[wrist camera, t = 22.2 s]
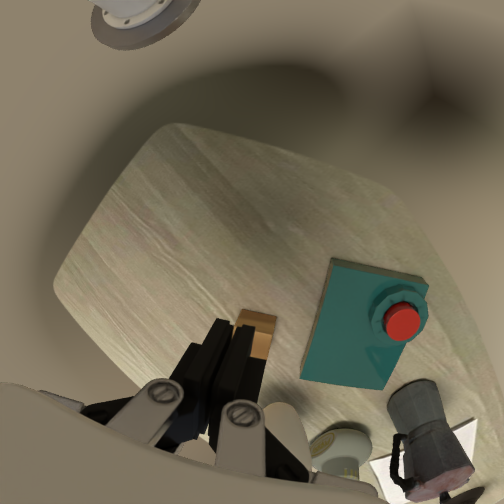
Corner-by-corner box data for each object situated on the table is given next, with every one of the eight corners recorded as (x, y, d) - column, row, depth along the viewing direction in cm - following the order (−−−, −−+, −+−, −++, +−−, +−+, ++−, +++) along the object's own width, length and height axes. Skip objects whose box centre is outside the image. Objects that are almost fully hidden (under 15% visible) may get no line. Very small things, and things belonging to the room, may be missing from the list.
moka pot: (426, 424, 38) (450, 514, 19) (355, 411, 39) (364, 521, 20) (459, 385, 35) (501, 477, 16) (388, 367, 36) (419, 485, 17)
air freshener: (335, 459, 43) (334, 501, 34) (301, 445, 43) (296, 490, 34) (378, 430, 40) (384, 475, 30) (344, 414, 40) (346, 464, 30)
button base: (331, 257, 33) (334, 270, 29) (424, 277, 32) (438, 292, 28) (300, 366, 38) (298, 387, 34) (382, 378, 37) (387, 399, 32)
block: (242, 308, 37) (233, 326, 33) (276, 316, 37) (272, 335, 32) (237, 337, 38) (229, 356, 34) (270, 345, 38) (265, 365, 34)
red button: (390, 299, 29) (394, 306, 28) (420, 304, 29) (425, 311, 27) (378, 330, 30) (381, 338, 29) (408, 335, 30) (412, 342, 28)
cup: (272, 362, 39) (241, 499, 18) (331, 393, 39) (331, 524, 18) (235, 401, 42) (195, 517, 22) (289, 428, 42) (272, 541, 22)
